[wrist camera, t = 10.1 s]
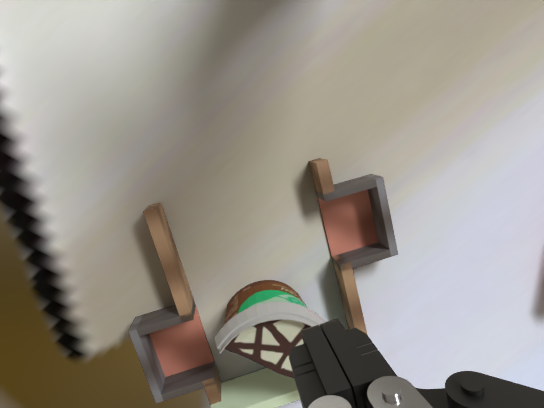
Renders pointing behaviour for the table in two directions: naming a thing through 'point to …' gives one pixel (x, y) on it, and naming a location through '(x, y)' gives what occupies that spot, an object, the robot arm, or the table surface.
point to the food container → (266, 324)
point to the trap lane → (186, 322)
